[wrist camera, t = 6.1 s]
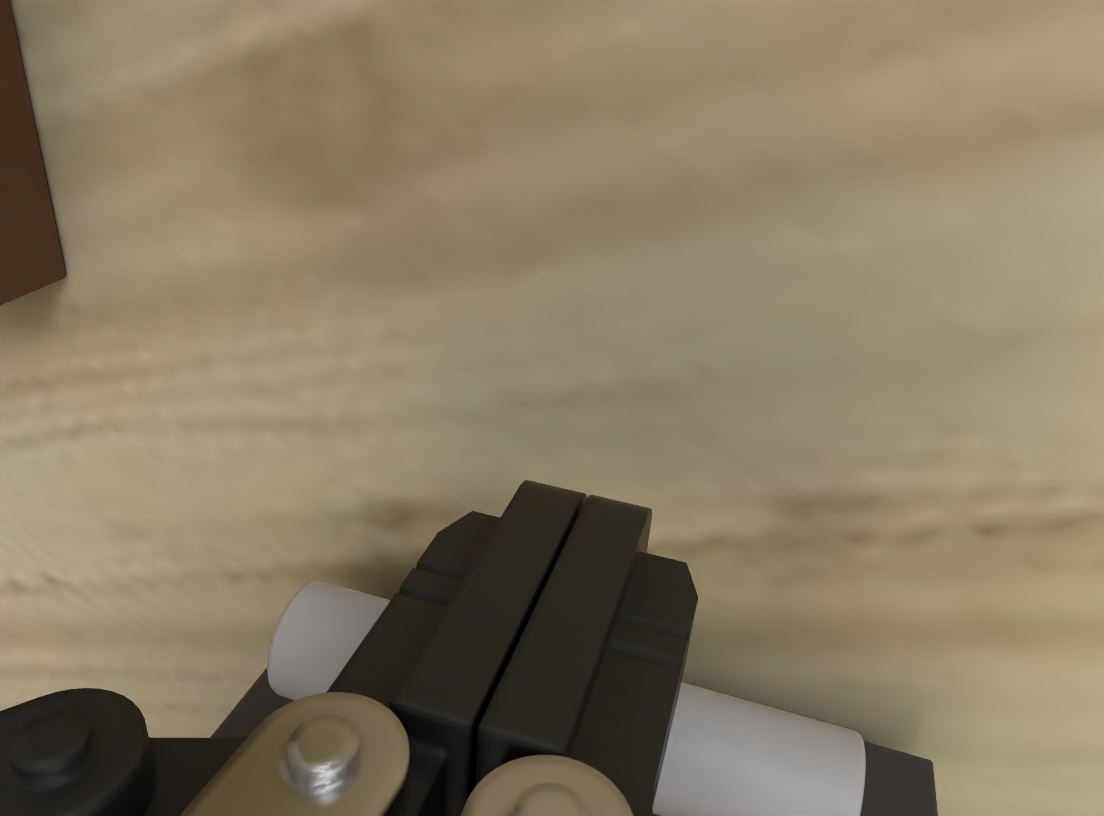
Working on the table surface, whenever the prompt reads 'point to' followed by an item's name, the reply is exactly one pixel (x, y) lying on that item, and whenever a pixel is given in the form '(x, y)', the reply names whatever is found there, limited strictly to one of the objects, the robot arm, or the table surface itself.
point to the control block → (22, 182)
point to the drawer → (693, 746)
